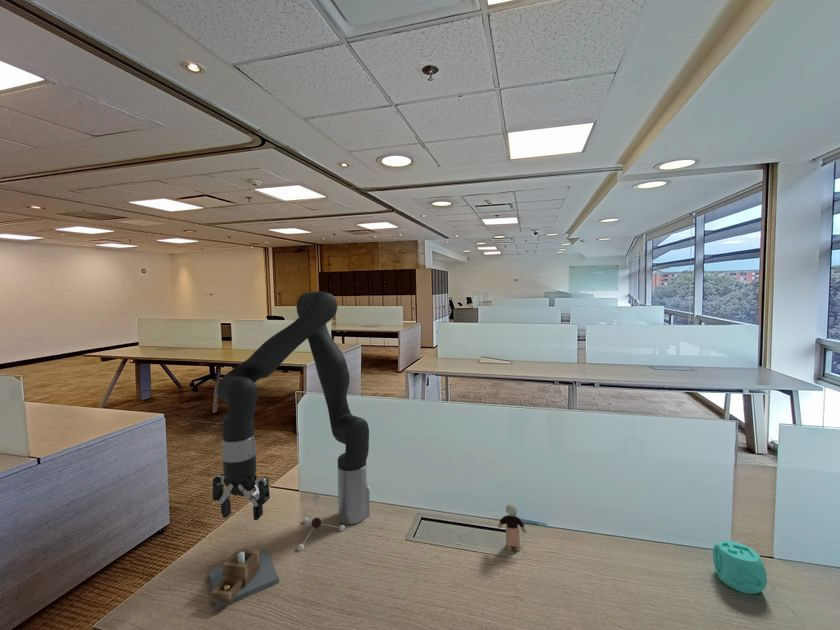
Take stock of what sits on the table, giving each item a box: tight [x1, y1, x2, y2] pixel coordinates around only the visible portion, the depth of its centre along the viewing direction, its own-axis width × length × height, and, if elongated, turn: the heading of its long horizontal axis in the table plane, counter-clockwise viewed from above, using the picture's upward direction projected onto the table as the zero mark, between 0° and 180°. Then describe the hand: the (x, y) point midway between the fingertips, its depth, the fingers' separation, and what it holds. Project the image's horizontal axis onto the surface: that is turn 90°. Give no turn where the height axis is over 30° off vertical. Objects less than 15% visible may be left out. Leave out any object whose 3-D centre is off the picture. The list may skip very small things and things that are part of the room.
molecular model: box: [297, 493, 346, 552], centre depth 113 cm, size 13×15×13 cm
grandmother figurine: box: [497, 502, 527, 552], centre depth 105 cm, size 8×4×13 cm, turn 84°
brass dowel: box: [224, 584, 230, 591], centre depth 88 cm, size 1×1×2 cm
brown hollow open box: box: [210, 548, 260, 603], centre depth 91 cm, size 6×11×5 cm, turn 171°
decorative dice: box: [712, 540, 768, 595], centre depth 92 cm, size 8×8×8 cm
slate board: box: [208, 549, 280, 611], centre depth 94 cm, size 14×13×7 cm
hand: (242, 517), depth 94 cm, fingers open, 8 cm apart
